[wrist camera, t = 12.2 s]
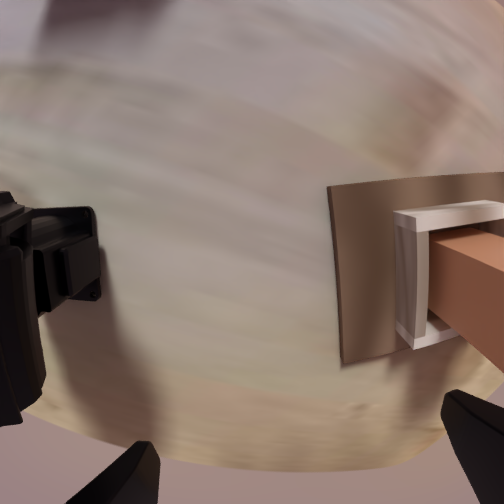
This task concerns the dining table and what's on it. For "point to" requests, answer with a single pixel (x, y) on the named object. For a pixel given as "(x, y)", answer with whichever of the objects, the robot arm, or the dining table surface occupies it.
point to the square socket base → (400, 254)
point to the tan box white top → (469, 287)
